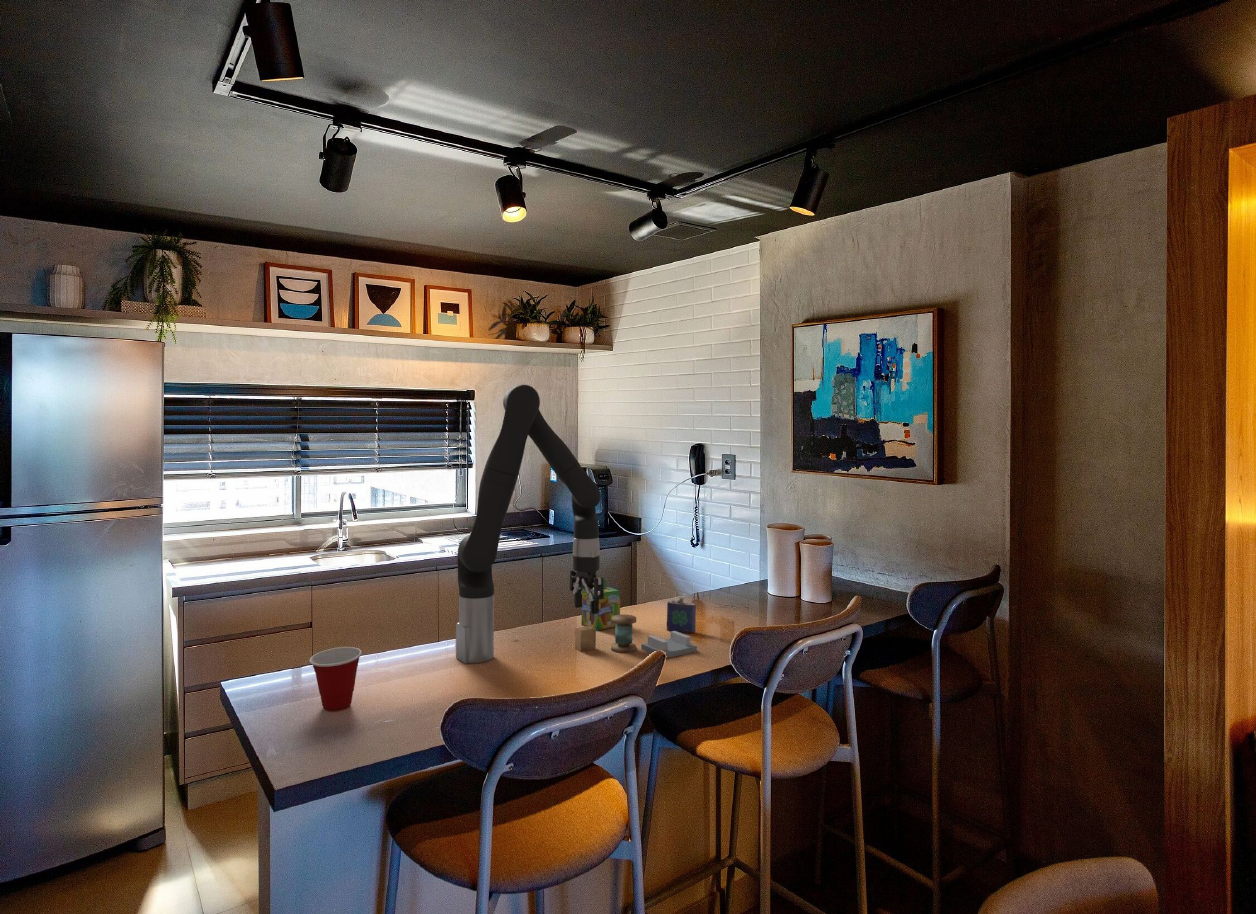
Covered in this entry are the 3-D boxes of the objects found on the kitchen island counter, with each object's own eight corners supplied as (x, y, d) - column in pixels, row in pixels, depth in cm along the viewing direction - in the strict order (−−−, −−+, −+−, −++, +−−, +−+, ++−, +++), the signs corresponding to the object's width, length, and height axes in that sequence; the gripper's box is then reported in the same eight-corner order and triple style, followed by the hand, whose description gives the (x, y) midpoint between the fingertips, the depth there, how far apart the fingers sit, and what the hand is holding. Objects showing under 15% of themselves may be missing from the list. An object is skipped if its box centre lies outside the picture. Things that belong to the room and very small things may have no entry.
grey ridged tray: (663, 658, 201) (663, 644, 201) (641, 649, 210) (641, 635, 209) (696, 651, 208) (697, 637, 208) (674, 642, 217) (674, 629, 216)
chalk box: (597, 631, 227) (598, 583, 227) (580, 624, 234) (580, 578, 234) (621, 626, 233) (621, 579, 233) (603, 620, 240) (603, 574, 240)
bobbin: (620, 654, 205) (620, 622, 204) (606, 647, 210) (606, 616, 210) (640, 650, 209) (641, 618, 208) (626, 643, 215) (626, 613, 214)
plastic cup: (300, 707, 164) (300, 653, 164) (347, 694, 172) (347, 643, 172) (323, 720, 157) (323, 664, 156) (371, 706, 165) (370, 653, 164)
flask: (696, 632, 228) (697, 597, 227) (693, 634, 225) (694, 599, 225) (668, 628, 231) (668, 594, 231) (664, 631, 229) (665, 596, 228)
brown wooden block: (580, 651, 207) (580, 630, 206) (575, 649, 209) (575, 628, 209) (595, 648, 210) (595, 627, 209) (589, 646, 212) (590, 625, 212)
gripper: (561, 551, 212) (562, 607, 213) (588, 558, 200) (588, 618, 201) (584, 548, 216) (584, 603, 217) (611, 555, 205) (611, 613, 205)
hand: (586, 610), depth 209 cm, fingers open, 8 cm apart
